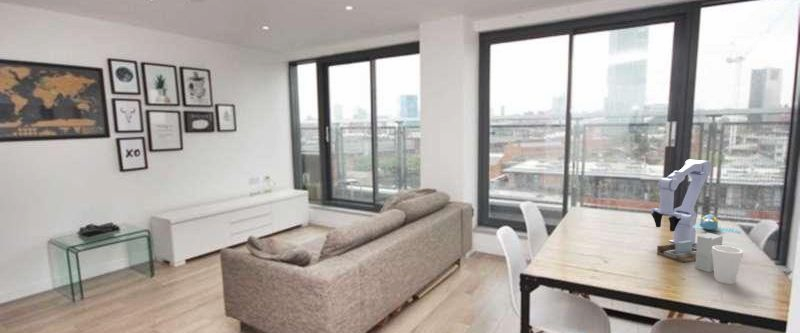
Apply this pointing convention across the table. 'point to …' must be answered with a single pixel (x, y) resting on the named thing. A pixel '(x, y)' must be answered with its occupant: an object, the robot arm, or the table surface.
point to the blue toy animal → (712, 224)
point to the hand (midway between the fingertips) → (665, 229)
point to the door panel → (683, 246)
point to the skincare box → (706, 251)
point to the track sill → (670, 253)
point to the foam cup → (726, 263)
